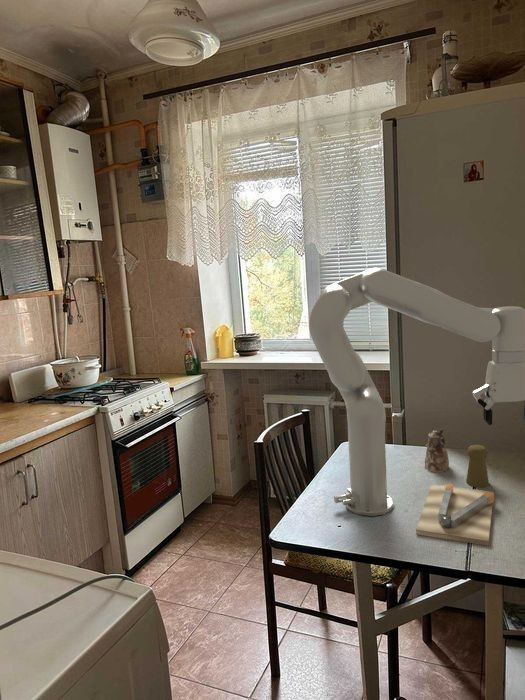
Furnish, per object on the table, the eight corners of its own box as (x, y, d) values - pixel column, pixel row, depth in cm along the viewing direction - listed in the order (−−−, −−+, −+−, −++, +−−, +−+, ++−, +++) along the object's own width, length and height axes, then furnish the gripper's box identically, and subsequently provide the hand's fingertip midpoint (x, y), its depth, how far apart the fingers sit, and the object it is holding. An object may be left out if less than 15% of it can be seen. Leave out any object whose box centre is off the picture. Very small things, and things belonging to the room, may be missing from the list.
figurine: (419, 465, 165) (419, 429, 163) (438, 461, 167) (438, 425, 165) (434, 473, 158) (433, 436, 156) (453, 469, 160) (453, 431, 158)
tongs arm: (451, 530, 124) (451, 522, 123) (439, 525, 126) (438, 517, 126) (494, 501, 136) (494, 493, 136) (482, 497, 138) (482, 489, 138)
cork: (485, 489, 146) (485, 451, 144) (463, 484, 150) (463, 448, 148) (491, 480, 151) (491, 444, 149) (469, 476, 154) (469, 441, 152)
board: (488, 545, 119) (488, 540, 119) (416, 534, 126) (415, 529, 126) (493, 495, 142) (493, 491, 142) (431, 488, 149) (431, 484, 149)
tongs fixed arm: (445, 522, 127) (445, 514, 127) (437, 521, 128) (437, 513, 128) (453, 491, 143) (453, 484, 142) (446, 490, 144) (446, 483, 143)
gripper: (537, 351, 134) (536, 416, 137) (468, 355, 135) (468, 419, 138) (551, 357, 126) (550, 425, 129) (477, 361, 128) (478, 428, 131)
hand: (508, 422), depth 134 cm, fingers open, 9 cm apart
